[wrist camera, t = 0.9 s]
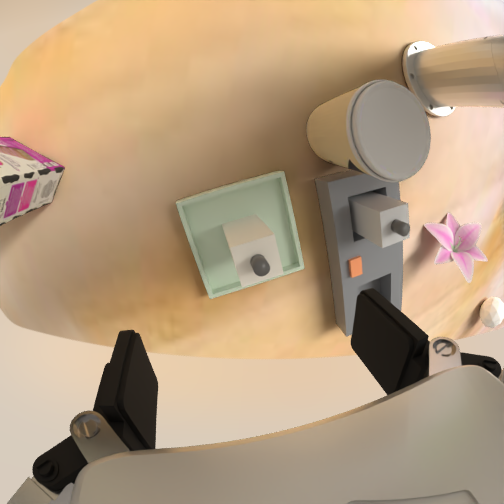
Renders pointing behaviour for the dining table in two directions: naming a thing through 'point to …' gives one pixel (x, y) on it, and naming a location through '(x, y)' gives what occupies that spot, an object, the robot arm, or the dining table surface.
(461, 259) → the lily
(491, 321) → the geometric ball
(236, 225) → the cream plug
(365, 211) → the grey twin plug
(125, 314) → the dining table surface
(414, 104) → the coffee cup
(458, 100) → the robot arm
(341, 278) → the power strip
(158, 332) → the dining table surface
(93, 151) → the dining table surface
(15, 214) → the candy bar box
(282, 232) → the sage tray
